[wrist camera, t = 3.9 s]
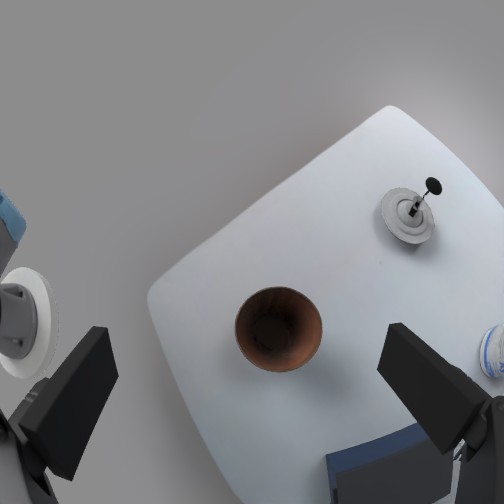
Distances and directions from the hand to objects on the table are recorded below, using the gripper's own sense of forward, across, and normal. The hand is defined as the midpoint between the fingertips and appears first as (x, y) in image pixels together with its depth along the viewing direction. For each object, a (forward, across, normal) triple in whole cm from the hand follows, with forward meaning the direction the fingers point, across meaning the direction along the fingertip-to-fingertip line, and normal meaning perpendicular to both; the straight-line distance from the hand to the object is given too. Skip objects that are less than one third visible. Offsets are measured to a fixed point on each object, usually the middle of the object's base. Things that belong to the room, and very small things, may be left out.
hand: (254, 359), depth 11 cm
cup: (+22, -6, +12) cm, 26 cm away
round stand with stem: (+28, -27, -4) cm, 40 cm away
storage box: (+8, -21, +30) cm, 37 cm away
